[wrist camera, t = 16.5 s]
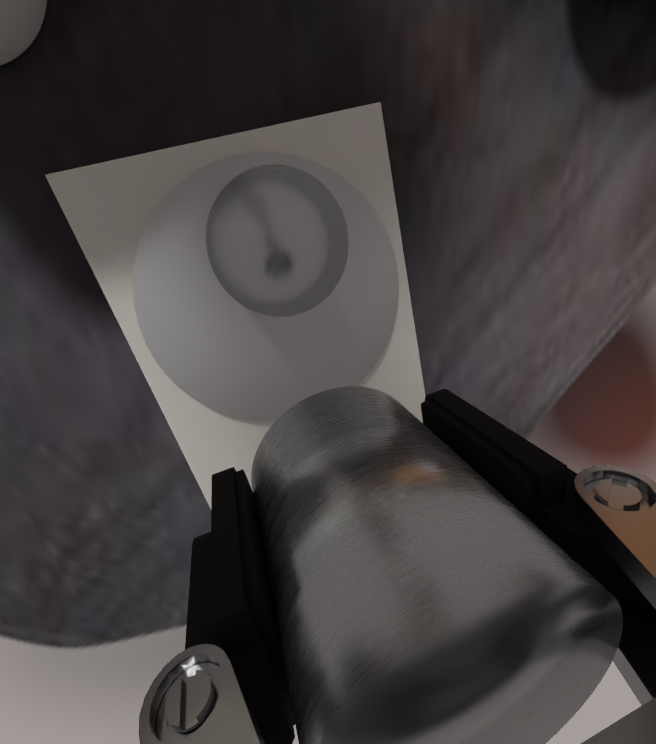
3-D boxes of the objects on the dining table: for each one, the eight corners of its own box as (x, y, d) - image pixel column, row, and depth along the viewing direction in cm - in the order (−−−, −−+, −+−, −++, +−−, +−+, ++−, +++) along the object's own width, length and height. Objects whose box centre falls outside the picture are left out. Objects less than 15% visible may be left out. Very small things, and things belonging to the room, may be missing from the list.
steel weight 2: (210, 482, 9) (219, 826, 4) (353, 348, 9) (559, 518, 4) (329, 559, 12) (435, 840, 6) (444, 453, 11) (652, 649, 6)
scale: (69, 184, 18) (34, 170, 15) (359, 119, 21) (389, 94, 18) (223, 506, 27) (224, 547, 23) (413, 430, 30) (441, 456, 26)
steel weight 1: (191, 202, 17) (181, 183, 11) (294, 177, 18) (331, 149, 12) (229, 307, 19) (235, 334, 13) (319, 279, 20) (360, 294, 14)
